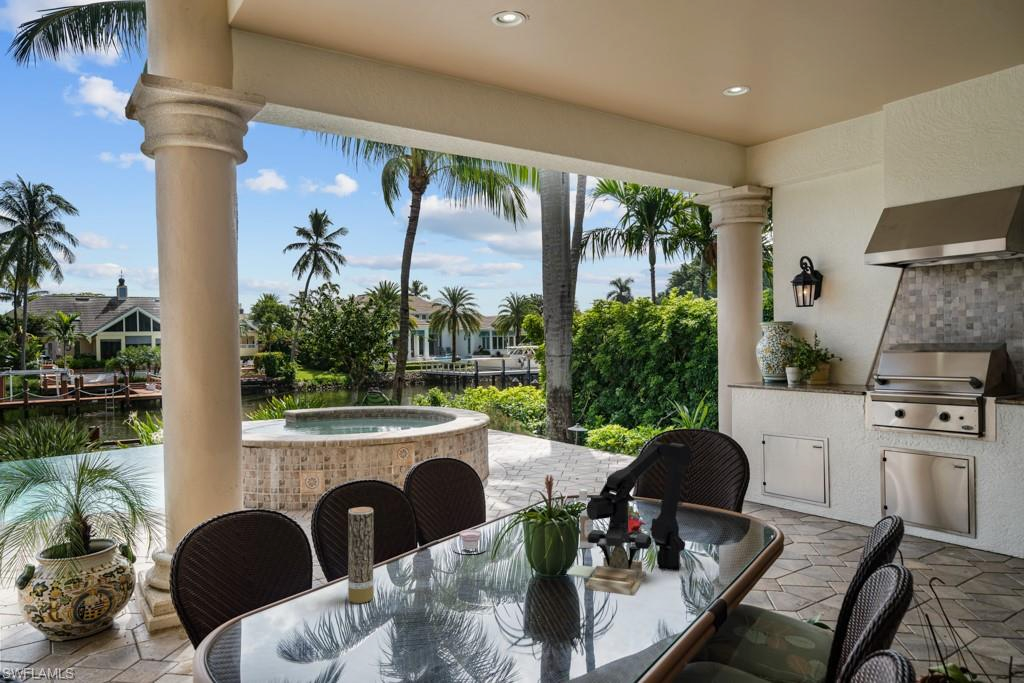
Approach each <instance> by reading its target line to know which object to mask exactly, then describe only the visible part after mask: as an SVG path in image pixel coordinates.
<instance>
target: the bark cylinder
mask: <svg viewBox="0 0 1024 683" xmlns="http://www.w3.org/2000/svg"><path fill="white" fill-rule="evenodd" d="M347 513H348V517H347V518H348V522H347V523H348V525H347V526H348V527H347V528H348V532H347V534H348V544H347V545H348V547H347V548H348V550H347V552H348V554H347V559H348V560H347V561H348V562H347V566H348V569H347V571H348V572H347V577H348V578H347V580H348V582H347V586H348V588H347V589H348V592H347V595H348V598H347V599H348V601H349V602H350V603H352V602H353V604H365V602H366V603H368V601H369V602H370V601H372V599H373V598H374V508H373V507H371V506H359V507H352V508H349V509H348V512H347Z"/></svg>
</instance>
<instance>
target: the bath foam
mask: <svg viewBox="0 0 1024 683" xmlns="http://www.w3.org/2000/svg"><path fill="white" fill-rule="evenodd" d="M577 502H582V503H585V504H586V505H587V504H588V502H589V500H588V489H586V488H580V489H579V490H578V500H577ZM580 523H581V534H580V548H579V549H583V548H586V549H590V548H592V547H593V546H594V543H588V534H589V533H590V532H591V531H592V530H594V520H591V519H590V518H589V517H588V515H587V511H586V509H585V510H584V511H583V512H582V513H581V514H580Z"/></svg>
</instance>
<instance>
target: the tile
mask: <svg viewBox="0 0 1024 683" xmlns="http://www.w3.org/2000/svg"><path fill="white" fill-rule="evenodd" d="M573 565H574V566H573V567H572V568H571V569H570V570H569V571H568V572H567V573H566V574H568V575H573V576H572V577H575V576H578V577H577V578H583V577H584V579H589V578H591V577H592V576H593V575H594V574H593V573H595V572H596V566H588V565H582V564H581V565H580V564H573Z"/></svg>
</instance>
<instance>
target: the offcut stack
mask: <svg viewBox="0 0 1024 683" xmlns="http://www.w3.org/2000/svg"><path fill="white" fill-rule="evenodd" d="M595 572H596V571H595ZM595 572H594V573H595ZM595 578H598V579H605V580H613V581H621V582H628V583H631V589H632V587H633V585H634V584H635V580H628V573H623V572H615V571H607V570H598V571H597V572H596V573H595Z"/></svg>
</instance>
